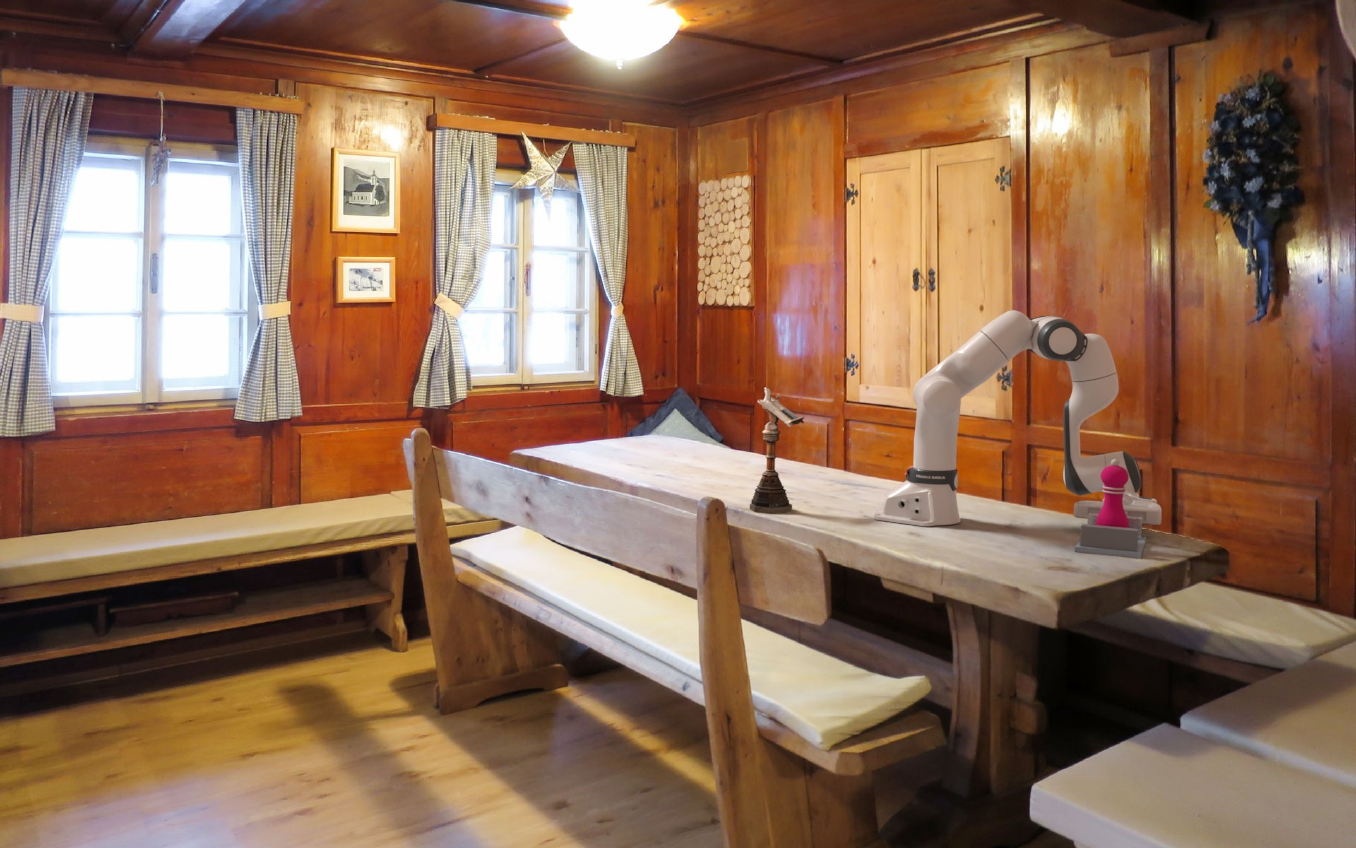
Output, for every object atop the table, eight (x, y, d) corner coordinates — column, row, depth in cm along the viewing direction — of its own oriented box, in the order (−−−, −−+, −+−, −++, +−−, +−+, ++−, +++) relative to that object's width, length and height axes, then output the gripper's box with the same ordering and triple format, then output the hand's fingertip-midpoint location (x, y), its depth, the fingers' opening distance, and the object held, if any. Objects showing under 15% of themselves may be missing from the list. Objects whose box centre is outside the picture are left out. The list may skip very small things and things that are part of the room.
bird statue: (815, 508, 289) (817, 385, 285) (798, 516, 277) (800, 388, 274) (762, 503, 297) (763, 383, 293) (743, 511, 285) (744, 386, 282)
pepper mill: (1096, 545, 237) (1100, 460, 235) (1093, 538, 244) (1096, 456, 242) (1130, 547, 235) (1134, 461, 233) (1125, 540, 242) (1129, 457, 240)
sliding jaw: (1087, 534, 249) (1087, 514, 249) (1088, 532, 251) (1088, 513, 251) (1140, 539, 244) (1141, 519, 243) (1141, 537, 246) (1142, 517, 245)
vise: (1074, 551, 236) (1076, 526, 236) (1084, 535, 253) (1085, 512, 253) (1141, 558, 230) (1142, 532, 229) (1145, 541, 247) (1147, 517, 246)
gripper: (1076, 492, 265) (1070, 501, 253) (1163, 499, 256) (1161, 508, 243) (1075, 516, 266) (1069, 526, 253) (1162, 524, 256) (1159, 534, 244)
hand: (1114, 517), depth 248 cm, fingers closed
